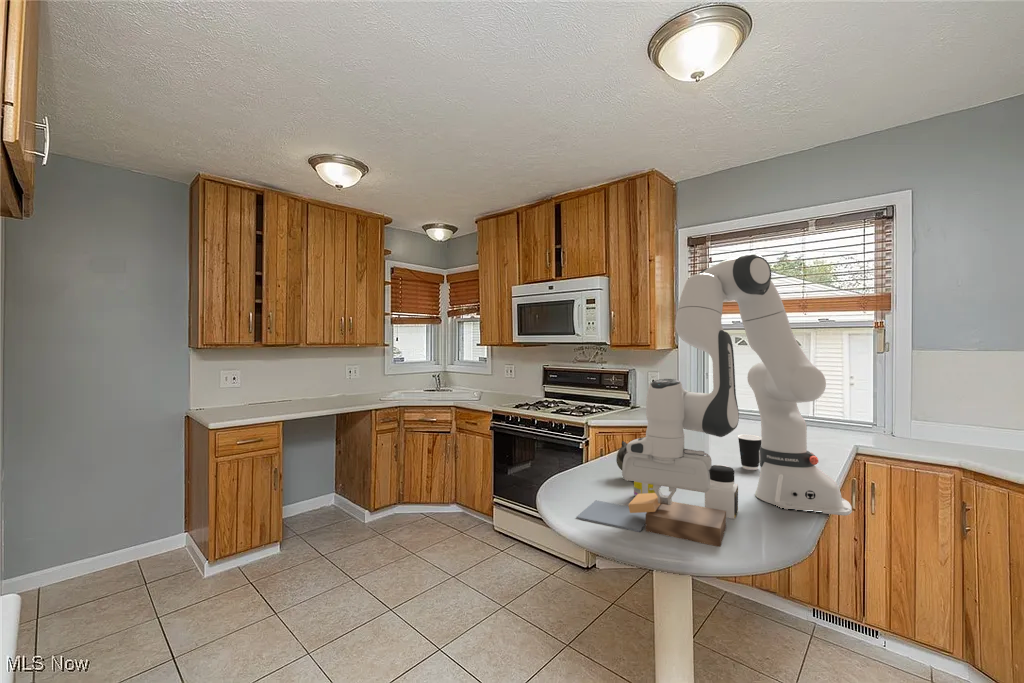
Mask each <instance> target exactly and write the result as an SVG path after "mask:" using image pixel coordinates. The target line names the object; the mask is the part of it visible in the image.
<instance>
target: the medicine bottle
mask: <svg viewBox="0 0 1024 683" xmlns="http://www.w3.org/2000/svg"><path fill="white" fill-rule="evenodd" d="M709 473H710V489H709V490H708V491H707V492H705V493H704V507H707V508H712V509H718V510H724V511H726V519H729V518H731V519H730V520H735V519H736V517H737V514H738V512H739V485H738V483H735V469H734V468H733V467H731V466H727V465H725V464H712V466H711V469H710V470H709Z"/></svg>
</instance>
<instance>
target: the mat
mask: <svg viewBox="0 0 1024 683" xmlns="http://www.w3.org/2000/svg"><path fill="white" fill-rule="evenodd" d="M646 513H647V512H641V513H630V510H629V506H628V505H624V504H620V503H619V504H618V503H613V502H608V501H604V500H603V501H602V500H597V499H596V500H594V501H593V502H592V503H591V504H589V505H588V506H587V507H586V508H585V509H583V510H582V511H581V512H580V513H579V514H578V515H577V516H575V517H576V519H577V518H578V520H582V521H588V522H591V523H597V524H601V525H606V526H610V527H615V528H620V529H624V530H629V531H635V532H639V533H641V532H642V530H643V529H644V528H645V527H646Z"/></svg>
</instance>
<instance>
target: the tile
mask: <svg viewBox="0 0 1024 683" xmlns="http://www.w3.org/2000/svg"><path fill="white" fill-rule="evenodd" d="M659 505H660V504H659V503H658V496H657V495H656V493H644V494H637V495H636V496H635V497H633V499H632V500H631V501H630V502H629V503H628V505H627V506H629V510H630V513H641V512H655V511H656V510H657V508H658V507H659Z"/></svg>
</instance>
